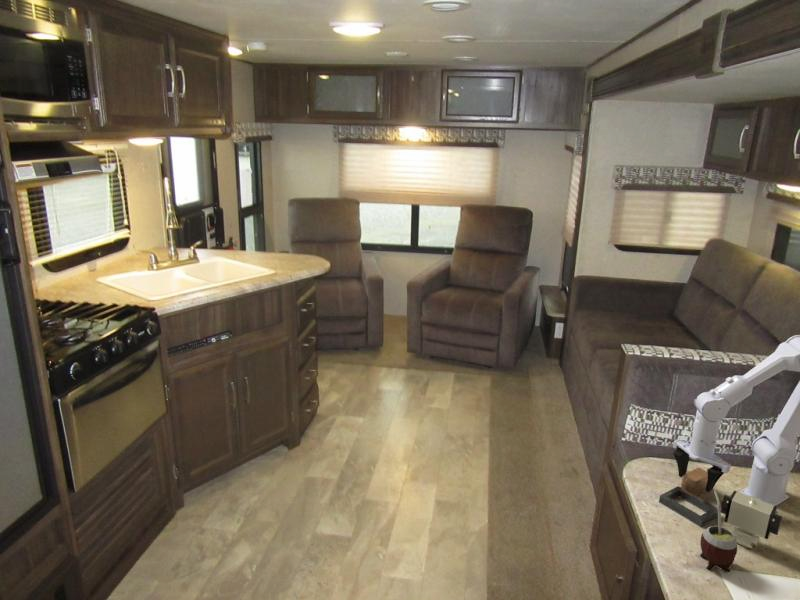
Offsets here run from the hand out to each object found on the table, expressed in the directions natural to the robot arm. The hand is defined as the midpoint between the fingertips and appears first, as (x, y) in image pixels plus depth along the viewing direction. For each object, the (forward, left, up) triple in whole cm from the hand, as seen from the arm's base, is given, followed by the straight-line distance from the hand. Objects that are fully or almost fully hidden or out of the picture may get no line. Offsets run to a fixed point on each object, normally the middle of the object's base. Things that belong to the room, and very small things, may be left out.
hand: (695, 482), depth 153 cm
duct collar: (+9, +4, -2) cm, 10 cm away
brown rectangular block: (0, 0, -2) cm, 2 cm away
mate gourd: (+22, +18, -3) cm, 29 cm away
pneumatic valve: (+9, +18, -3) cm, 20 cm away
